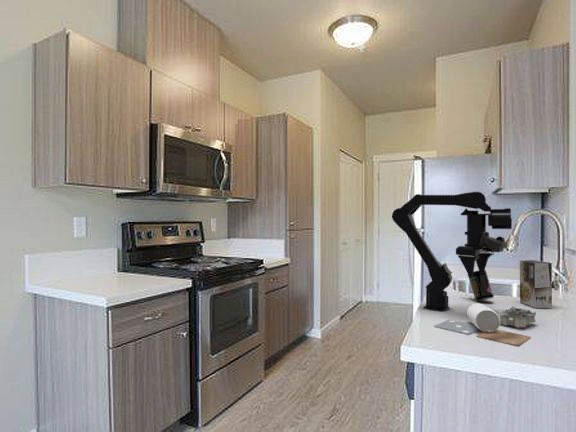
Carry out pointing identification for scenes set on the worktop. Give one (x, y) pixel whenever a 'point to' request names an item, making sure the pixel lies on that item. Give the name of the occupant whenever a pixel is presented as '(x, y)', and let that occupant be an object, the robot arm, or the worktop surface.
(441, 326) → the slate mat
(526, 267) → the coffee box
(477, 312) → the can
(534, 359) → the worktop surface
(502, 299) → the worktop surface
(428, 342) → the worktop surface
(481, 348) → the worktop surface
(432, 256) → the robot arm
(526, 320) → the egg carton
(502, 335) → the walnut mat
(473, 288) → the supplement container
